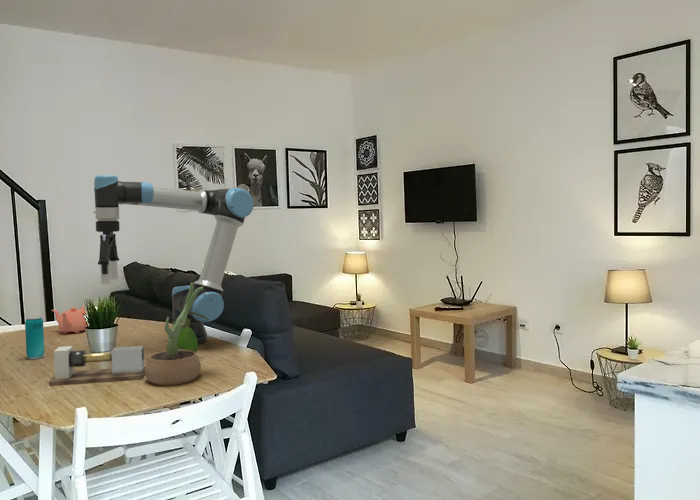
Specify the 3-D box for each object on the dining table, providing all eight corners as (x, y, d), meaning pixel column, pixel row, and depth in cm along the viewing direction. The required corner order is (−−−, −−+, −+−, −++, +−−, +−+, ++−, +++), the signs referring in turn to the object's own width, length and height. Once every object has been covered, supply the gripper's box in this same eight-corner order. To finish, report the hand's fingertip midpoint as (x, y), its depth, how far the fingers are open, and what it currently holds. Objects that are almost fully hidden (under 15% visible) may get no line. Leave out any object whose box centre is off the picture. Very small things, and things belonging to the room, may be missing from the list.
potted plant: (160, 391, 166) (157, 289, 164) (136, 378, 179) (132, 284, 178) (228, 375, 181) (226, 282, 179) (201, 365, 195) (198, 278, 193)
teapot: (63, 336, 243) (61, 311, 242) (52, 332, 253) (50, 307, 252) (97, 331, 253) (96, 307, 252) (85, 327, 263) (84, 304, 263)
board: (147, 369, 189) (147, 366, 189) (142, 379, 178) (142, 375, 178) (59, 375, 183) (59, 372, 183) (49, 385, 173) (49, 381, 172)
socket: (74, 376, 182) (72, 346, 181) (69, 382, 176) (67, 350, 175) (60, 377, 181) (59, 346, 180) (55, 383, 175) (53, 351, 175)
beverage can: (48, 356, 208) (46, 316, 207) (33, 360, 203) (31, 319, 202) (37, 355, 211) (35, 315, 210) (23, 359, 205) (21, 318, 204)
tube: (126, 361, 185) (125, 346, 184) (123, 365, 180) (123, 349, 180) (63, 365, 181) (62, 350, 180) (58, 369, 176) (58, 353, 175)
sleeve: (144, 368, 186) (143, 345, 185) (142, 372, 181) (141, 349, 181) (115, 370, 184) (114, 347, 184) (112, 374, 179) (111, 350, 179)
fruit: (186, 355, 209) (185, 322, 208) (202, 357, 205) (201, 324, 204) (170, 360, 202) (169, 326, 201) (186, 362, 198) (185, 328, 197)
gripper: (103, 220, 207) (105, 277, 208) (87, 220, 182) (89, 286, 184) (125, 219, 208) (127, 277, 210) (112, 220, 184) (114, 285, 185)
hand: (109, 281), depth 197 cm, fingers open, 13 cm apart
